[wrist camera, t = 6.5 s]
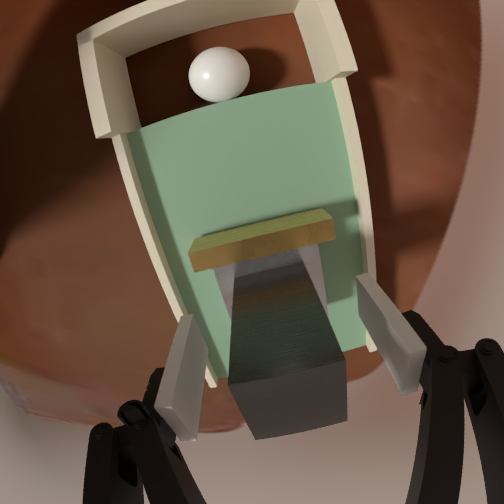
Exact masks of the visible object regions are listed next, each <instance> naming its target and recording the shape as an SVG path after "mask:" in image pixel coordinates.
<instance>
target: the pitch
mask: <svg viewBox="0 0 504 504" xmlns="http://www.w3.org/2000/svg"><path fill="white" fill-rule="evenodd" d="M290 13H294V15H295V17H296V20H297V23H298V26H299V29H300V32H301V35H302V38H303V41H304V44H305V47H306V51H307V54H308V57H309V60H310V64H311V67H312V71H313V74H314V78H315V81H316V83H313V84H306V85H300V86H293V87H287V88H282V89H276V90H271V91H266V92H261V93H257V94H252V95H248V96H243V97H239V98H235V99H231V100H227V101H223V102H219V103H216V104H212V105H209V106H205V107H202V108H198V109H195V110H192V111H189V112H185V113H182V114H179V115H176V116H173V117H170V118H167V119H164V120H162V121H159V122H156V123H153V124H151V125H148V126H145V127H143V128H141V124H140V120H139V116H138V112H137V108H136V104H135V100H134V96H133V91H132V87H131V83H130V78H129V74H128V69H127V65H126V60H125V58H126V57H128V56H131V55H133V54H135V53H138V52H140V51H142V50H145V49H147V48H150V47H153V46H155V45H158V44H161V43H163V42H166V41H169V40H172V39H175V38H178V37H181V36H184V35H188V34H191V33H194V32H198V31H201V30H205V29H209V28H212V27H216V26H220V25H225V24H229V23H234V22H238V21H243V20H249V19H254V18H260V17H267V16H274V15H281V14H290ZM77 42H78V50H79V57H80V64H81V70H82V76H83V82H84V87H85V92H86V97H87V102H88V107H89V111H90V116H91V120H92V125H93V129H94V133H95V137H96V138H112V141H113V145H114V149H115V152H116V156H117V159H118V163H119V166H120V170H121V173H122V176H123V180H124V183H125V186H126V189H127V192H128V196H129V199H130V202H131V205H132V208H133V211H134V214H135V216H136V219H137V222H138V225H139V228H140V231H141V233H142V236H143V239H144V242H145V244H146V247H147V250H148V252H149V255H150V257H151V260H152V263H153V265H154V268H155V270H156V273H157V275H158V277H159V280H160V282H161V285H162V287H163V290H164V292H165V294H166V297H167V299H168V301H169V303H170V306H171V308H172V310H173V313H174V315H175V317H176V319H177V321H178V323H179V320H180V317H181V316H184V315H190V314H193V315H194V317H195V319H196V322H197V324H198V326H199V329H200V331H201V333H202V336H203V338H204V340H205V342H206V345H207V347H208V349H209V351H208V358H207V365H206V372H205V379H206V380H207V382H208V384H209V386H210V388H212V387H217V384H218V378H224V377H228V374H229V355H230V337H231V320H230V317H229V314H228V311H227V309H226V306H225V303H224V300H223V297H222V294H221V291H220V288H219V285H218V282H217V280H216V277H215V274H214V271H213V269H208V270H204V271H200V272H196V273H194V270H193V267H192V264H191V261H190V258H189V256H188V252H189V249H190V247H191V245H192V243H193V241H194V239H195V238H199V237H203V236H207V235H211V234H214V233H218V232H222V231H226V230H230V229H234V228H238V227H242V226H247V225H251V224H255V223H259V222H263V221H267V220H271V219H276V218H280V217H284V216H288V215H292V214H297V213H301V212H305V211H310V210H314V209H319V208H323V209H324V210H325V211H326V212H327V213H328V214H329V215H330V216H331V217H332V218H333V221H334V228H335V235H336V239H334V240H330V241H326V242H322V243H318V247H319V253H320V259H321V266H322V272H323V279H324V286H325V293H326V300H327V308H328V316H329V321H330V324H331V326H332V328H333V331H334V333H335V335H336V338H337V340H338V343H339V345H340V347H341V350H342V352H344V351H347V350H351V349H354V348H358V347H361V346H364V345H366V346H367V348H368V350H369V352H373V351H376V350H377V347H376V345H375V344H374V342H373V340H372V338H371V336H370V335H369V333H368V331H367V329H366V328H365V326H364V324H363V322H362V321H361V319H360V317H359V315H358V298H357V284H356V276H357V275H361V274H365V273H369V274H370V275H371V276H372V278H373V279H374V280H375V281H376V261H375V247H374V234H373V224H372V214H371V206H370V198H369V190H368V183H367V176H366V170H365V164H364V158H363V152H362V147H361V141H360V136H359V131H358V127H357V122H356V117H355V113H354V109H353V104H352V100H351V96H350V92H349V88H348V84H347V81H346V77H347V76H349V75H351V74H353V73H354V72H356V71H358V68H357V65H356V61H355V58H354V55H353V51H352V48H351V45H350V42H349V39H348V36H347V33H346V30H345V27H344V25H343V22H342V19H341V16H340V14H339V11H338V9H337V6H336V4H335V1H334V0H147V1H144V2H142V3H139V4H137V5H134V6H132V7H130V8H127V9H125V10H123V11H121V12H119V13H116V14H114V15H112V16H110V17H108V18H106V19H104V20H102V21H100V22H98V23H96V24H94V25H93V26H91V27H89V28H87V29H85V30H83V31H82V32H80V33H78V34H77ZM376 282H377V281H376Z"/></svg>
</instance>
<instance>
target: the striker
mask: <svg viewBox="0 0 504 504" xmlns="http://www.w3.org/2000/svg"><path fill="white" fill-rule="evenodd" d="M334 239H336V235H335V228H334V221H333V218H332V217H331V216H330V215H329V214H328V213H327V212H326V211H325V210H324V209H323V208H319V209H314V210H310V211H305V212H301V213H297V214H292V215H288V216H284V217H280V218H276V219H271V220H267V221H263V222H259V223H255V224H251V225H247V226H242V227H238V228H234V229H230V230H226V231H222V232H218V233H214V234H211V235H207V236H203V237H199V238H195V239H194V241H193V243H192V245H191V247H190V249H189V252H188V256H189V258H190V261H191V264H192V267H193V270H194V273H196V272H200V271H204V270H208V269H213V271H214V274H215V277H216V280H217V282H218V285H219V288H220V291H221V294H222V297H223V300H224V303H225V306H226V309H227V311H228V314H229V317H230V320H231V337H230V355H229V374H228V386H229V388H230V391H231V393H232V395H233V397H234V399H235V401H236V403H237V405H238V407H239V409H240V411H241V413H242V415H243V417H244V419H245V421H246V423H247V425H248V426H249V428H250V430H251V432H252V434H253V436H254V438H255V440H258V439H265V438H271V437H278V436H283V435H288V434H294V433H299V432H304V431H308V430H312V429H317V428H321V427H325V426H329V425H333V424H337V423H340V422H343V421H347V381H346V360H345V357H344V355H343V352H342V350H341V347H340V345H339V343H338V340H337V338H336V335H335V333H334V331H333V328H332V326H331V324H330V321H329V316H328V308H327V300H326V293H325V286H324V279H323V272H322V266H321V259H320V253H319V247H318V243H322V242H326V241H330V240H334Z"/></svg>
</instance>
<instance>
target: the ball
mask: <svg viewBox="0 0 504 504" xmlns="http://www.w3.org/2000/svg"><path fill="white" fill-rule="evenodd" d="M249 78H250V69H249V65H248V63H247V61H246V59H245V58H244V57H243V56H242V55H241V54H240V53H239V52H237V51H236V50H233V49H231V48H227V47H214V48H210V49H207V50H205V51H203V52H202V53H200V54H199V55H198V56H197V57H196V58H195V59H194V61H193V62H192V64H191V66H190V69H189V82H190V85H191V87H192V89H193V90H194V92H195V93H196V94H197V95H198V96H200V97H201V98H203V99H205V100H207V101H210V102H223V101H227V100H231V99H234V98H236V97H237V96H239V95H240V94H241V93H242V92H243V91H244V90H245V88H246V86H247V85H248V82H249Z"/></svg>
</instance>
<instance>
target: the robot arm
mask: <svg viewBox="0 0 504 504" xmlns="http://www.w3.org/2000/svg"><path fill="white" fill-rule="evenodd" d="M356 284H357V298H358V315H359V317H360V319H361V321H362V322H363V324H364V326H365V328H366V329H367V331H368V333H369V335H370V336H371V338H372V340H373V342H374V344H375V345H376V347H377V349H378V351H379V353H380V355H381V356H382V358H383V360H384V362H385V364H386V366H387V367H388V369H389V371H390V373H391V375H392V377H393V379H394V381H395V382H396V385H397V386H398V388H399V390H400V392H401V394H402V396H405V395H408V394H410V393H412V392H415V391H417V390H418V387H419V383H420V384H421V386H422V388H423V393H422V396H421V400H420V403H419V404H421V415H420V425H419V434H418V442H417V449H416V455H415V461H414V467H413V472H412V477H411V482H410V487H409V491H408V495H407V499H406V503H405V504H458V499H459V492H460V485H461V477H462V467H463V453H464V400H465V403H466V406H467V409H468V412H469V416H470V419H471V423H472V426H473V430H474V434H475V438H476V442H477V446H478V450H479V455H480V460H481V464H482V470H483V475H484V481H485V487H486V495H487V503H488V504H504V353H503V351H502V349H501V347H500V345H499V344H498V343H497V342H496V341H495V340H493V339H489V338H486V339H481V340H479V341H478V342H477V343H476V346H475V349H471V350H465V351H458V350H457V349H456V348H454V347H452V346H448V345H444V344H443V342H442V341H441V340H440V339H439V337H438V336H437V335H436V334H435V332H434V331H433V330H432V329H431V328H430V327H429V325H428V324H427V323H426V322H425V320H424V319H423V318H422V317H421V316H420V314H418V313H416V312H414V311H412V310H410V311H407V312H404V313H400V311H399V310H398V309H397V307H396V306H395V305H394V304H393V302H392V301H391V300H390V299H389V297H388V296H387V295H386V294H385V292H384V291H383V290H382V289H381V287H380V286H379V285H378V284H377V282H376V281H375V280H374V279H373V278H372V276H371V275H370V274H369V273H365V274H361V275H357V276H356ZM208 351H209V349H208V347H207V345H206V342H205V340H204V338H203V336H202V333H201V331H200V329H199V326H198V324H197V322H196V319H195V317H194V315H193V314H190V315H184V316H181V317H180V320H179V323H178V327H177V330H176V333H175V336H174V339H173V343H172V346H171V349H170V353H169V356H168V359H167V363H166V366H165V367H163V368H156V370H155V371H154V372H153V373H152V375H151V377H150V380H149V383H148V384H149V385H148V386H147V389H146V390H147V391H146V392H145V395H144V398H143V401H142V402H141V401H139V400H131V401H128V402H126V403H124V404H123V405H122V406H121V407H120V408H119V410H118V415H117V417H118V418H119V419H120V420H121V421H122V422H123V423H124V424H125V425H123V426H119V427H115V428H113V427H112V426H111V425H110V424H108V423H99V424H97V425H96V426H94V428H93V429H92V430H91V433H90V437H89V443H88V451H87V459H86V467H85V478H84V489H83V504H144V495H143V485H144V488H145V491H146V494H147V497H148V499H149V502H150V504H206V502H205V500H204V498H203V496H202V495H201V492H200V491H199V489H198V487H197V485H196V483H195V481H194V479H193V477H192V475H191V473H190V471H189V469H188V467H187V464H186V462H185V460H184V458H183V456H182V454H181V452H180V449H179V447H178V445H177V444H176V443H175V439H176V435H177V437H178V438H179V439H180V440H181V441H196V440H197V434H198V425H199V417H200V409H201V402H202V394H203V386H204V379H205V372H206V365H207V358H208Z"/></svg>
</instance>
